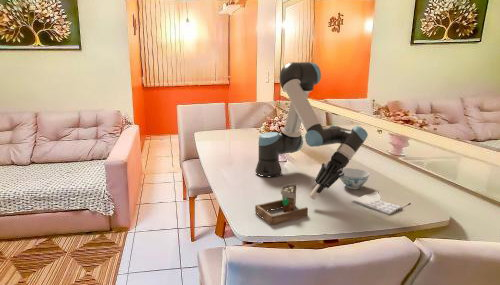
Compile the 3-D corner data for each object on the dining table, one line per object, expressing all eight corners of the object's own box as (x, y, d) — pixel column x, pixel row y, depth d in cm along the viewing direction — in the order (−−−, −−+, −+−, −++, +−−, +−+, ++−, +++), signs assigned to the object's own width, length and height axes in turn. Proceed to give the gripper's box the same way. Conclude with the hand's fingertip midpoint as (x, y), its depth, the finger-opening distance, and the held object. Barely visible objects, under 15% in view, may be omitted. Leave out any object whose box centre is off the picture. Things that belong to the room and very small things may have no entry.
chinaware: (350, 193, 167) (351, 178, 166) (331, 184, 181) (332, 170, 179) (374, 189, 173) (375, 174, 171) (354, 180, 187) (355, 166, 185)
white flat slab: (350, 202, 158) (351, 198, 157) (376, 193, 170) (376, 189, 169) (389, 217, 143) (389, 212, 143) (413, 205, 155) (414, 200, 154)
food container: (282, 203, 155) (282, 182, 153) (295, 204, 154) (296, 183, 152) (278, 215, 144) (278, 192, 141) (293, 216, 142) (293, 193, 140)
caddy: (255, 213, 145) (255, 205, 145) (289, 205, 154) (289, 197, 153) (271, 225, 134) (272, 217, 134) (307, 215, 143) (307, 208, 142)
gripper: (357, 164, 151) (325, 207, 147) (336, 157, 162) (306, 197, 158) (348, 154, 147) (316, 197, 143) (328, 148, 158) (297, 188, 155)
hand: (311, 197), depth 151 cm, fingers closed
